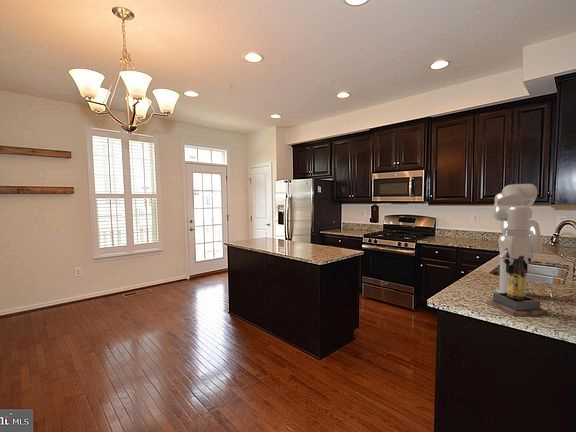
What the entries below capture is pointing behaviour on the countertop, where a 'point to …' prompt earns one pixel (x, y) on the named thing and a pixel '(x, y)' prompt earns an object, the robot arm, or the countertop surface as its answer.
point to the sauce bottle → (517, 280)
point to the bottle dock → (516, 305)
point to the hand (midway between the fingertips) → (516, 272)
